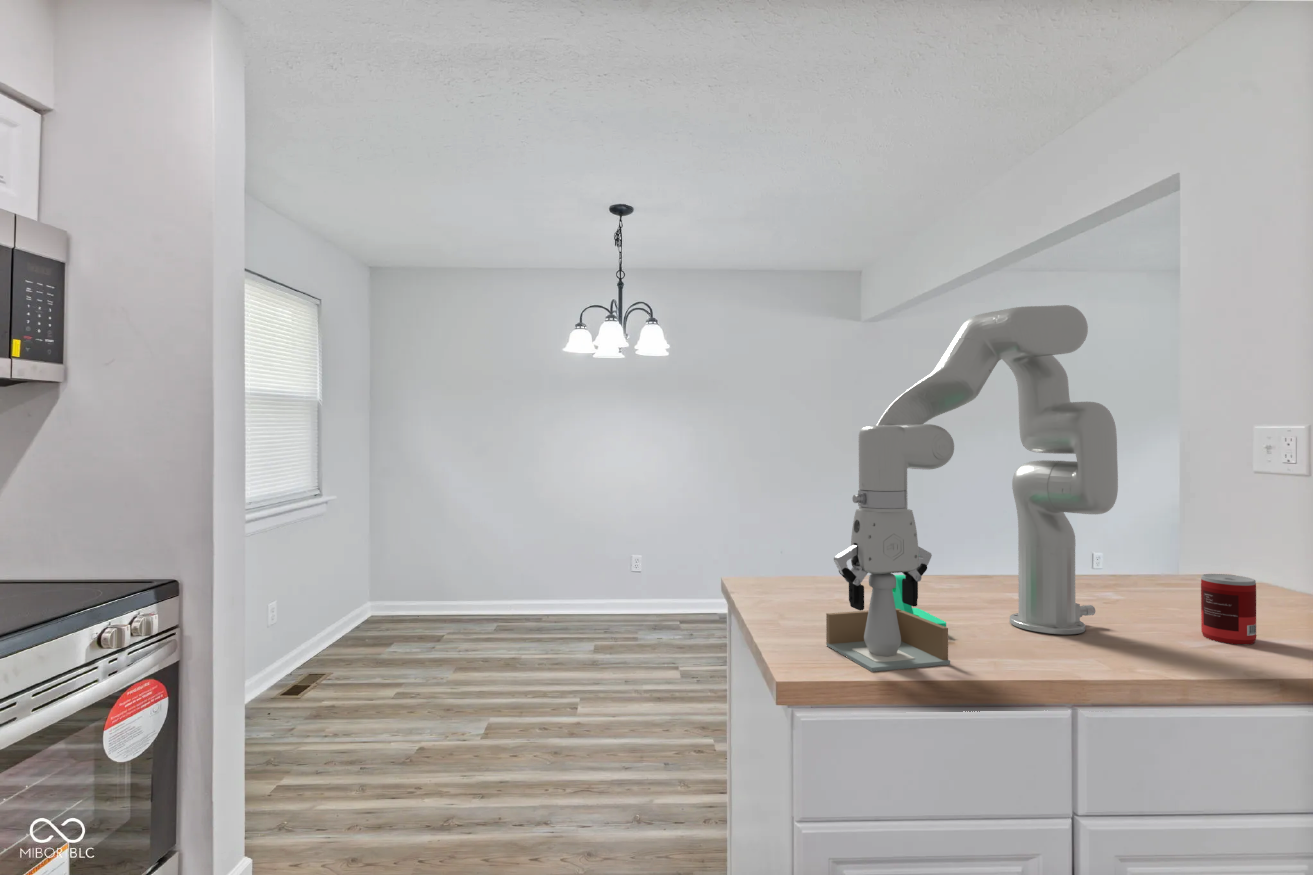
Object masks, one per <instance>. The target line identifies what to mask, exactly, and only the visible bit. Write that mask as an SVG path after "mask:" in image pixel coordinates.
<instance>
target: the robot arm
mask: <svg viewBox="0 0 1313 875" xmlns="http://www.w3.org/2000/svg"><path fill="white" fill-rule="evenodd" d="M1088 331H1089V326H1088V321H1087V319H1086V317H1085V315H1084V314H1083V313H1082V311H1081V310H1079V309H1078V308H1076V307H1075V306H1073V305H1067V304H1062V305H1060V304H1059V305H1035V306H1033V305H1031V306H1018V307H1017V306H1016V307H1010V308H1007V309H1006V308H1005V309H999V310H995V311H989V312H983V313H980V314H976V315H974V316H971V317H969V318H968V319H966V321H965V322H963V324H962V325H961V326H960V328H959V329H958V331H957V332H956V335H955V336H954V337H953V339H952V341H951V342H950V344H949V346H947V349H946V350H945V352H944V353H943V355H942V356H941V358H940V360H939V361H938V362H937V364H936V365H935V367H934V368H933V370H932V372H931V373H929V374H928V375H926V376H925V377H924V378H922V379H921V380H918V381H917V383H915V384H914V385H912V386H911V387H910V388H908V389H906V391H905V392H903V393H902V394H900V395H899V396H898V397H897V398H896V399H895V400H894V401H893V402H891V403H890V405H889V406H888V407H887V408H886V410H885V411H884V412H883V414H882V415H881V417H880V419H879V420H878V422H877V423H876V425H867V426H864V427H862V428H861V429H860V430H859V433H858V493H857V494H853V496H852V502H853V503H854V504H857V506H858V509H855V512H854V516H853V522H852V530H851V540H850V546H849V547H848V548H846V549H844V550H843V551H841V552H839V553H838V554H837V555H835V556H834V557H833V561H834V562H833V563H834V564H835V565H836V567H837V569H838V574H840V575H841V576H842V577H843V579H844V580H845V582H846V583H848V602H849V604H850V608H853V609H855V610H857V611H864V610H865V586H864V585H863V584H862V582H863V580H864V579H865V578H866V576H867V575H868V574H883V573H892V574H896V573H897V574H899V573H901V574H902V575H904V576H905V577H906V578H904V579H903V580H902V602H903V603H905V604H908V605H911V606H912V607H917V606H918V599H919V582H921V580H922V576H923V575H924V574H925V573H926V571H928V565H929V563H930V561H931V559H932V556H933V555H932V553H931V552H930V551H928V550H926V549H924V548H922V547H920V546H919V541H918V531H917V526H916V524H917V523H916V521H915V517H914V512H913V510H912V509H909V508H908V469H911V470H922V471H923V470H928V471H929V470H936V469H939V468H941V467H944V466H945V465H947V463H949V461H951V459H952V458H953V455H954V451H955V442H954V439H953V436H952V435H951V433H950V432H948V431H947V430H946V429H945V428H943V427H941V426H939V425H936V424H930V423H929V424H928V423H927V422H929V421H930V420H933V419H934V418H935V417H938V416H940V415H942V414H946V413H948V412H951V411H953V410H956V409H959V408H961V407H963V406H964V405H967V404H969V403H971V402H972V401H974V400H975V399H976V398H977V397H978V396H979V394H980V392H982V391H981V390H982V389H983V387H984V386H985V384H986V383H987V381H988V380H989V379H988V378H989V377H990V375H992V372H993V371H994V369H995V367H996V366H997V364H998V363H999V362H1000V361H1001V360H1002V361H1003V362H1004V363H1005V364H1006V365H1007V366H1008V367H1009V368H1008V369H1010V370H1011V372H1012V373H1013V375H1014V378H1015V380H1016V384H1017V386H1016V387H1017V394H1018V395H1017V397H1018V426H1019V438H1020V441H1021V442H1020V443H1021V444H1022V446H1023V447H1024V449H1026V450H1028V451H1030V452H1033V453H1036V454H1037V453H1039V454H1058V455H1059V454H1061V455H1063V454H1064V455H1065V454H1066V455H1069V454H1070V455H1075V457H1076V458H1075V459H1076V460H1075V461H1070V460H1068V461H1067V460H1049V459H1048V460H1047V459H1046V460H1045V459H1043V460H1034V461H1029V462H1026V463H1023V464H1021V465H1020V466H1019V467H1018V468H1016V470H1015V472H1014V474H1013V476H1012V480H1011V486H1012V487H1011V489H1012V494H1013V497H1014V503H1015V508H1016V514H1017V523H1018V524H1017V525H1018V526H1017V528H1018V531H1017V532H1018V536H1017V537H1018V538H1017V540H1018V542H1017V544H1018V550H1017V552H1018V553H1017V554H1018V556H1017V558H1018V559H1017V560H1018V564H1017V565H1018V569H1017V570H1018V575H1017V576H1018V577H1017V578H1018V579H1017V580H1018V613H1013V614H1011V615H1010V616H1009V623H1010V624H1011V625H1013V626H1014V627H1017V628H1019V629H1023V630H1026V631H1029V632H1030V631H1031V632H1035V633H1041V634H1048V635H1049V634H1052V635H1077V634H1082V633H1084V632H1086V624H1085V623H1084V622H1083V621H1081V618H1082V617H1083V616H1085V617H1086V616H1087V617H1089V616H1093V615H1095V614H1096V608H1095V606H1094V605H1093V604H1085V605H1084V604H1083V605H1080V603H1078V602H1076V535H1075V534H1076V533H1075V530H1074V527H1073V526H1072V524H1071V522H1070V520H1069V518H1068V517H1067V516H1066V514H1065V513H1067V514H1068V513H1070V514H1083V515H1102V514H1105V513H1108V512H1109V511H1111V510H1112V509H1113V507H1114V506H1115V504H1116V502H1117V498H1118V491H1119V475H1118V474H1119V472H1118V467H1119V466H1118V465H1119V464H1118V439H1117V428H1116V422H1115V420H1114V419H1115V418H1114V417H1113V415H1112V413H1111V411H1110V410H1109V409H1108V408H1107V407H1106V406H1105V405H1103V404H1101V403H1099V402H1095V401H1071V400H1070V388H1069V377H1068V375H1067V372H1066V369H1065V368H1064V367H1063V365H1062V364H1061V363H1060V361H1059V360H1058V359H1057V358H1056V357H1055V355H1056V356H1057V355H1065V354H1066V355H1067V354H1072V353H1074V352H1075V351H1077V350H1078V349H1080V348H1081V347H1082V346H1083V344H1084V343H1085V341H1086V339H1087V336H1088V333H1089V332H1088ZM849 560H850V562H851V563H850V564H851V566H852V567H851V569H849V567H848V564H847V563H848V562H849Z"/></svg>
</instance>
